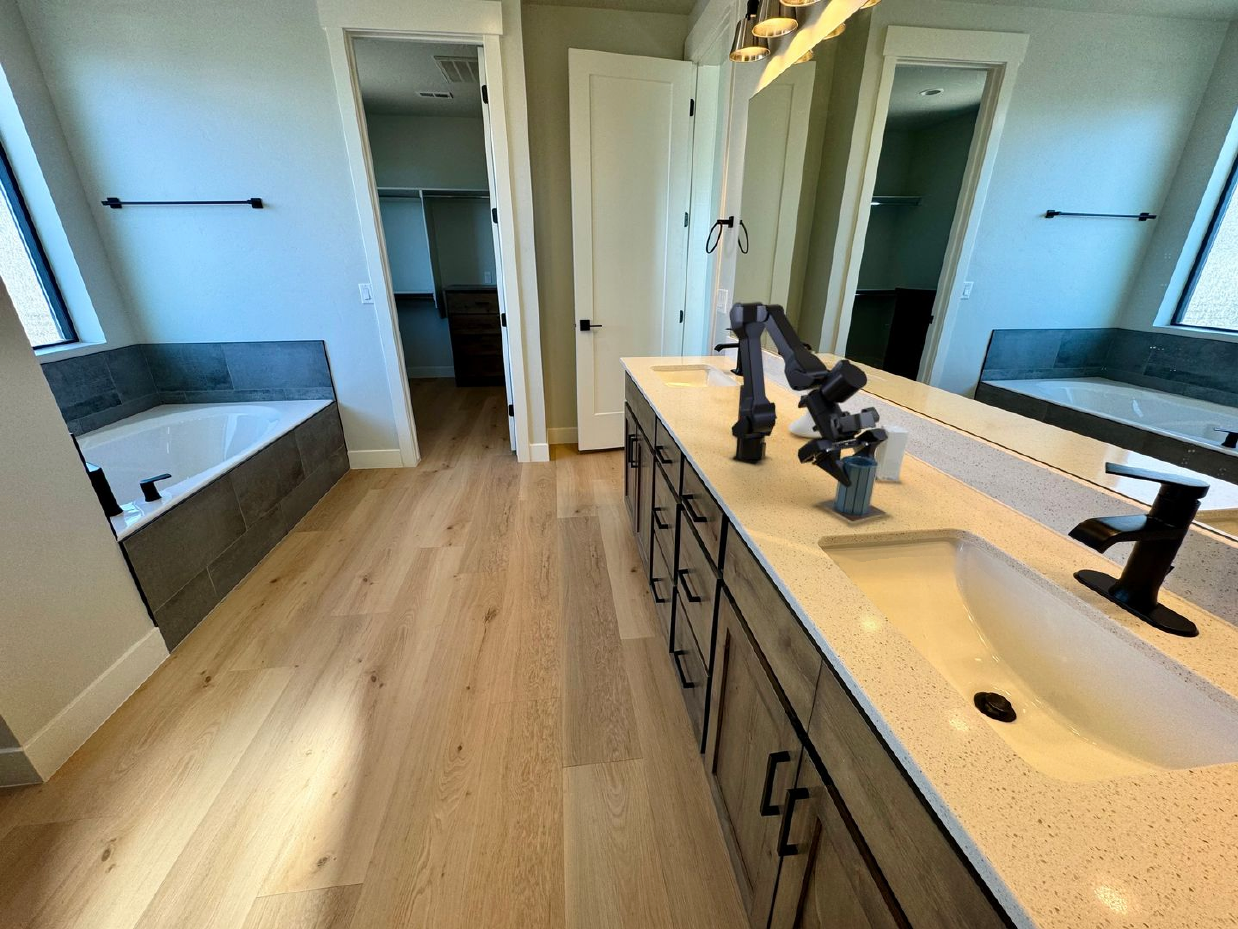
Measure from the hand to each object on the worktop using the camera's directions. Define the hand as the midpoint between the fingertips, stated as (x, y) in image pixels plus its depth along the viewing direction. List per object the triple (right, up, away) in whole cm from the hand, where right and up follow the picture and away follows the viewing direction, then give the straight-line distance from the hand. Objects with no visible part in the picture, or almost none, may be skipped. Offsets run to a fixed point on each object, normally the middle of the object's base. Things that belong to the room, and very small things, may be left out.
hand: (861, 483), depth 96 cm
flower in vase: (+8, +12, +50) cm, 52 cm away
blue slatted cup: (0, -5, +3) cm, 6 cm away
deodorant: (-9, +12, +50) cm, 52 cm away
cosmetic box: (+15, 0, +20) cm, 25 cm away
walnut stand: (0, -6, +4) cm, 7 cm away
